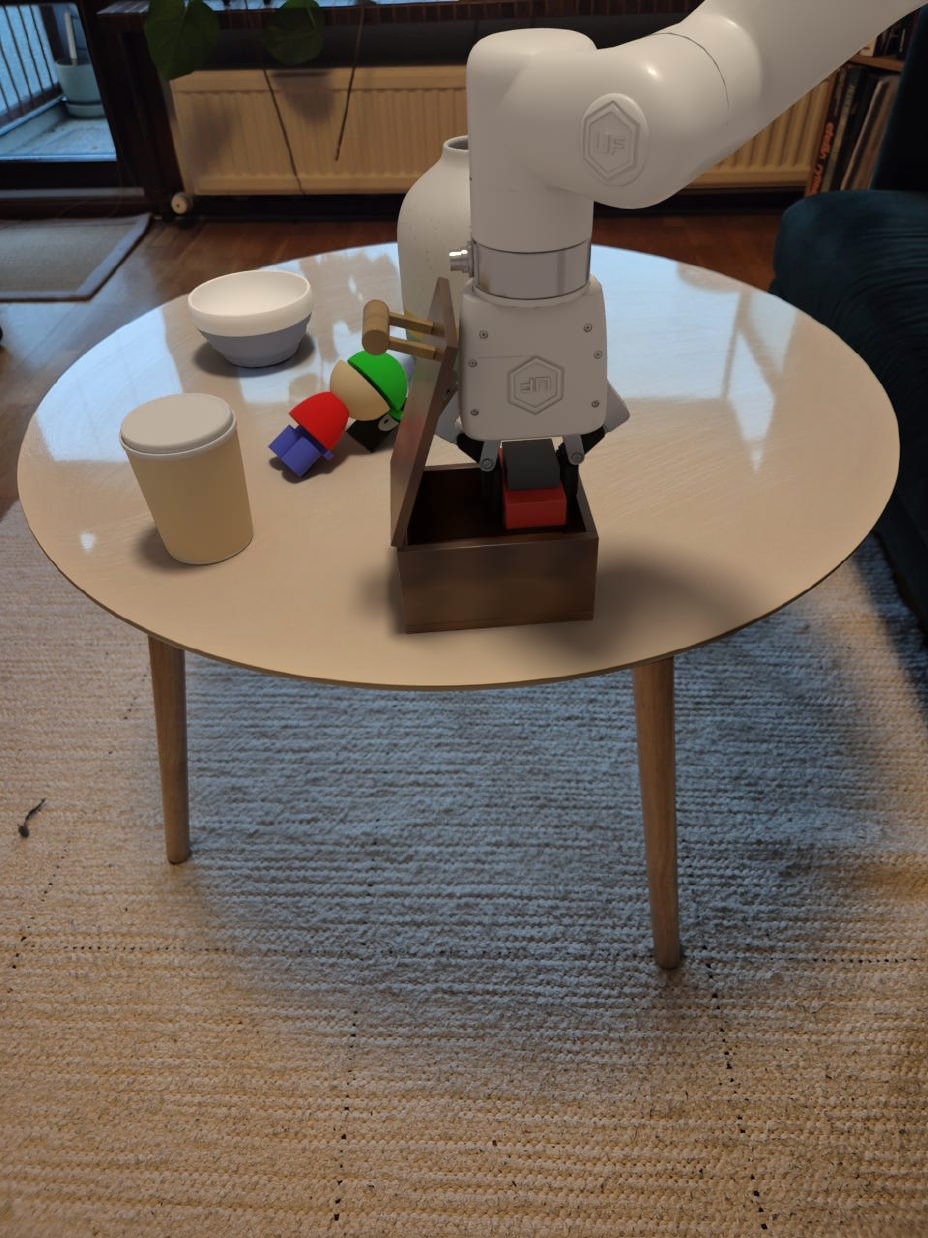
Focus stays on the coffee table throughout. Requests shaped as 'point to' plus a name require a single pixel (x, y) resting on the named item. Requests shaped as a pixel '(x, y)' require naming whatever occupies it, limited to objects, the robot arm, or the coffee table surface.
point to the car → (531, 484)
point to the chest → (491, 559)
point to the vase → (435, 235)
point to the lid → (414, 391)
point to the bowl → (253, 315)
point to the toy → (346, 410)
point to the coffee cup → (191, 474)
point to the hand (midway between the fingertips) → (529, 501)
